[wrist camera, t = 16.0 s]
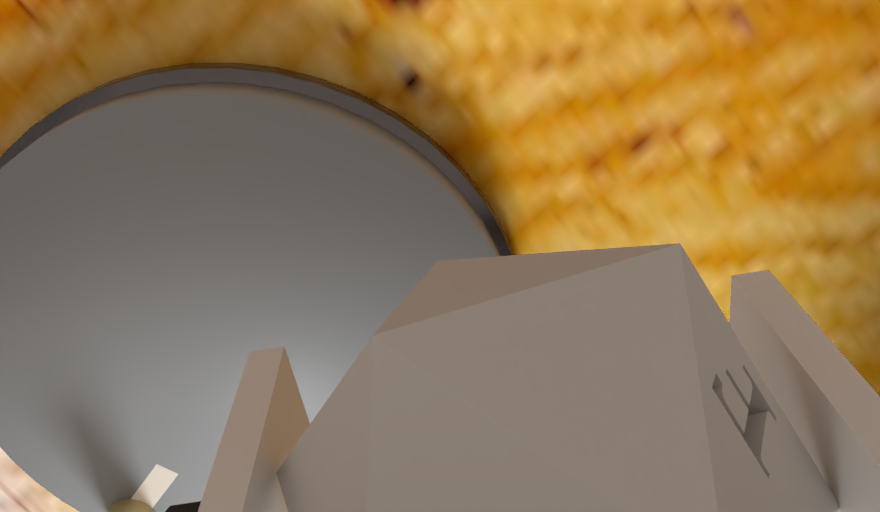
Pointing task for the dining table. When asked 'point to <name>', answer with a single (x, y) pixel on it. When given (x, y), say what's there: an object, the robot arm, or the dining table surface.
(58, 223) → the turntable
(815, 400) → the robot arm
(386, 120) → the turntable base
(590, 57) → the dining table surface
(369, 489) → the die
